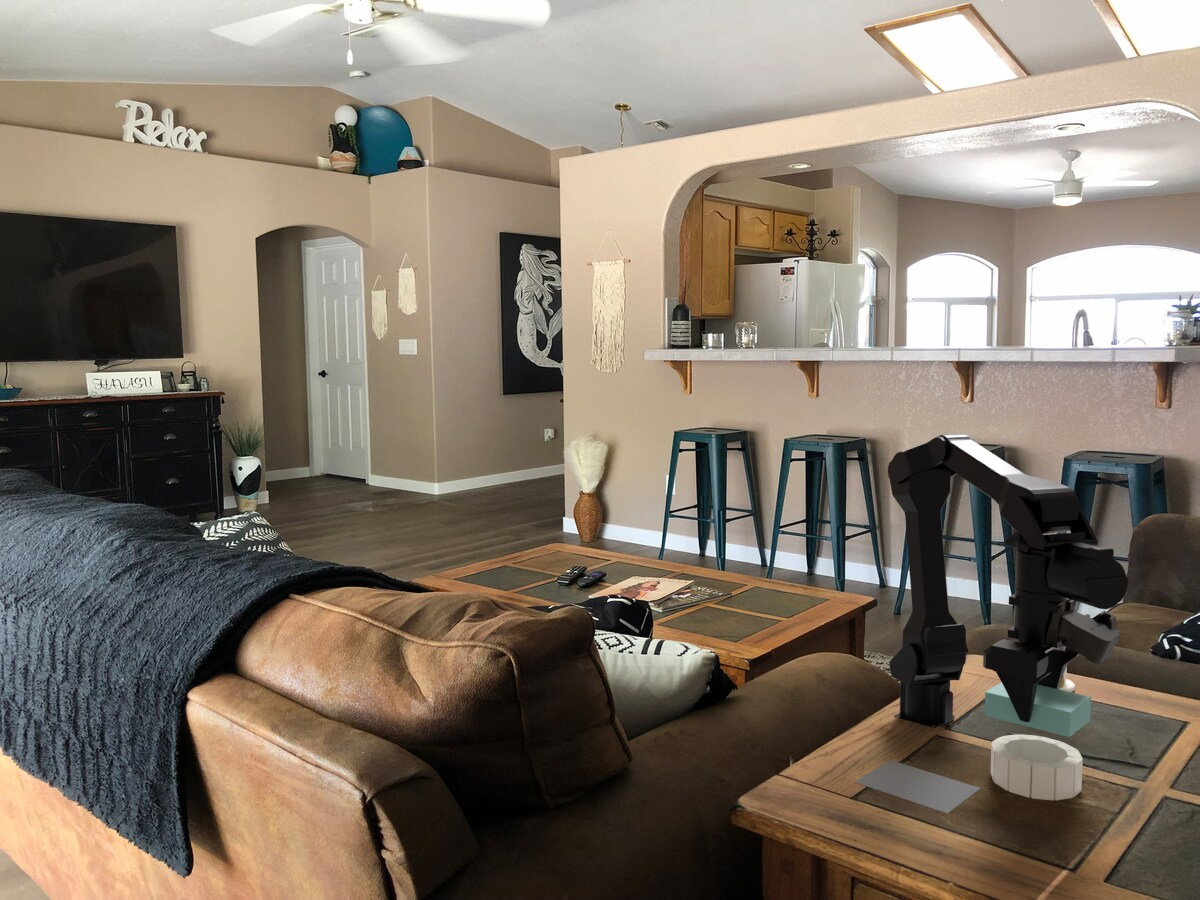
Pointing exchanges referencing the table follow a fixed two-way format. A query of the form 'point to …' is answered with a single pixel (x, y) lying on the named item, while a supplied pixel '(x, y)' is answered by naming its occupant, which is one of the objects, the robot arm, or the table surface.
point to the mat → (918, 786)
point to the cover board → (1043, 709)
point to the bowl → (1036, 767)
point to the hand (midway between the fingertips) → (1036, 712)
